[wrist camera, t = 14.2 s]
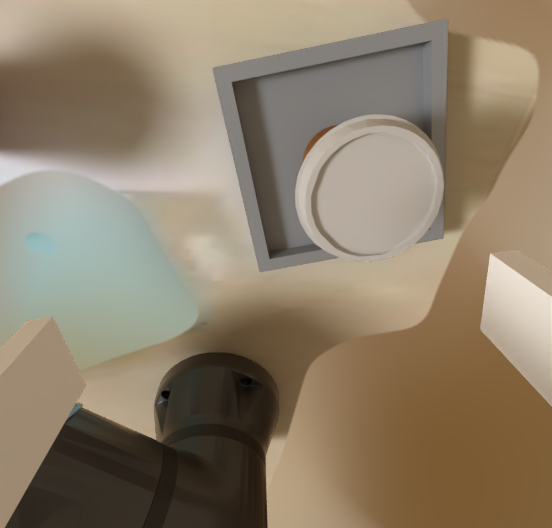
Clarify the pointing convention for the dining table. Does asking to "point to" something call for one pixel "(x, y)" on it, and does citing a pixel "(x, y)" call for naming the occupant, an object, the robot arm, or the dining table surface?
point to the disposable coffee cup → (369, 187)
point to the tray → (324, 120)
